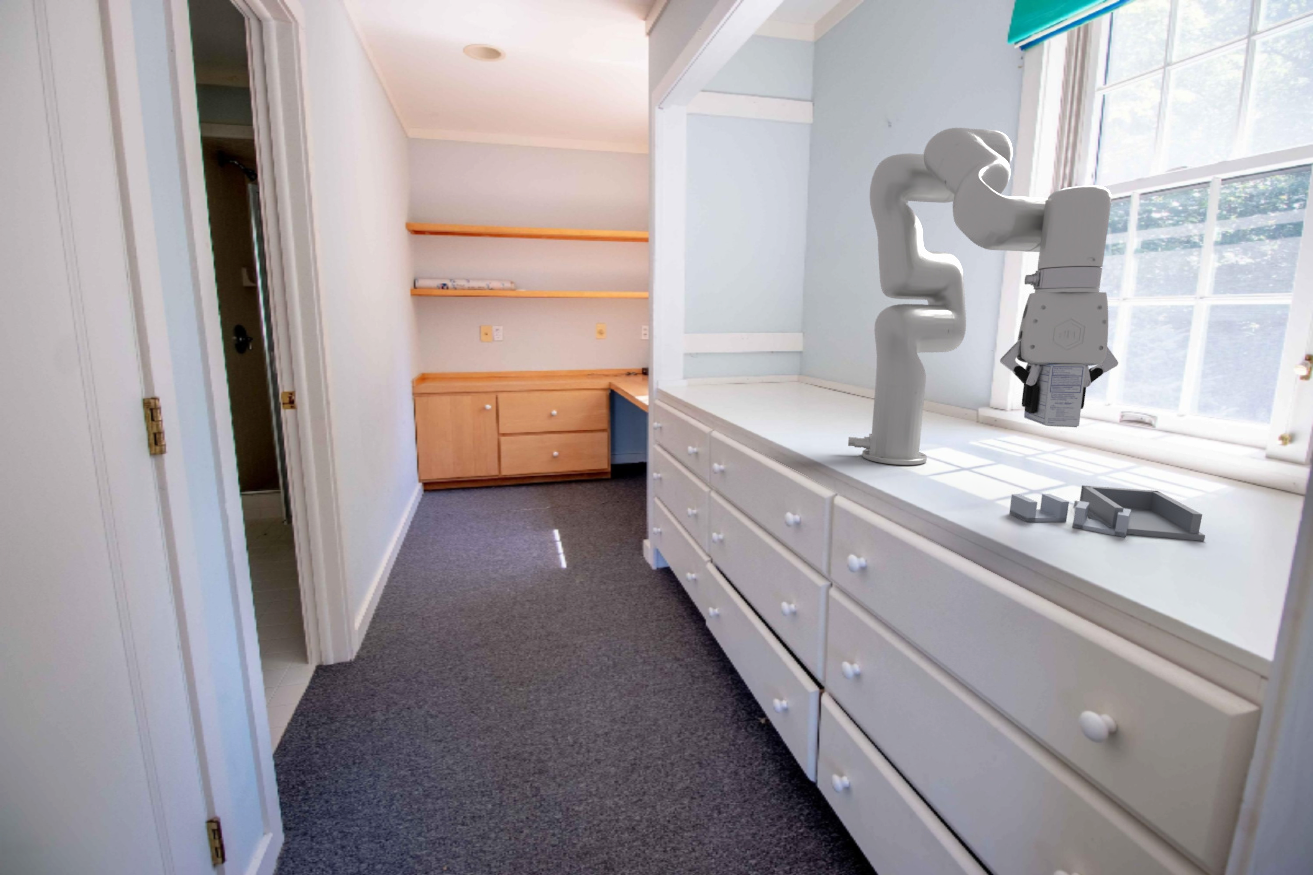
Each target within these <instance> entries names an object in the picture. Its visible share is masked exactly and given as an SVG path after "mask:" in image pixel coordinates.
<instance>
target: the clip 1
mask: <svg viewBox="0 0 1313 875" xmlns="http://www.w3.org/2000/svg"><path fill="white" fill-rule="evenodd" d="M1069 505H1070V501H1069V500H1065V499H1064V498H1061V497H1058V496H1056V495H1053V494H1051V493H1042V494H1041V501H1040V508H1037V507H1038V501H1036V500H1034V499H1032V498H1029V497H1026V496H1024V495H1022V494H1017V493H1016V494H1013V493H1012V494H1011V499H1010V506H1009V515H1012V516H1013V517H1016V518H1017V519H1020V520H1022V521H1024V522H1026V523H1050V522H1051V523H1053V522H1055V523H1057V522H1059V523H1060V522H1062V523H1064V522H1065V523H1066V522H1067V520H1068V519H1067V518H1068V512H1069Z"/></svg>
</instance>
